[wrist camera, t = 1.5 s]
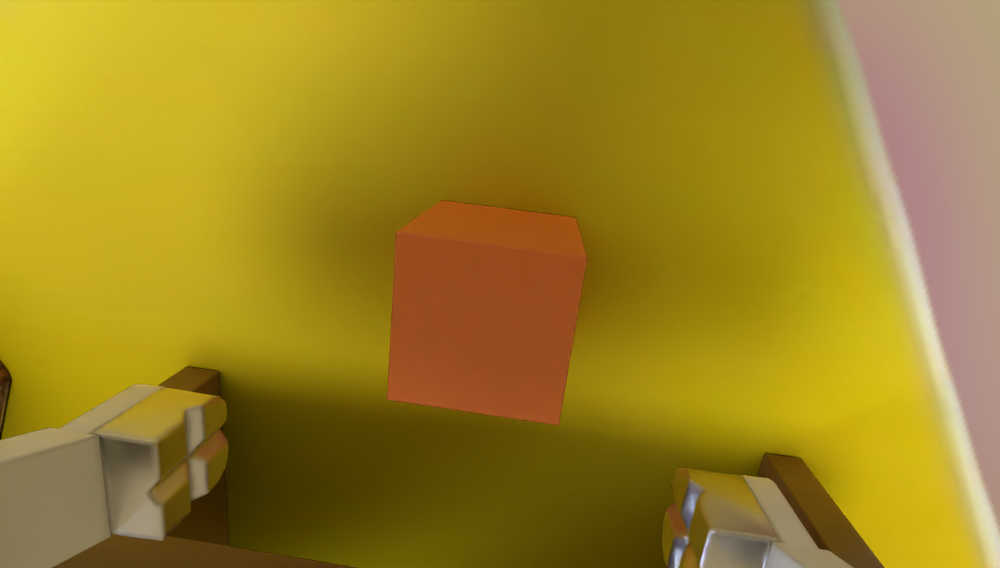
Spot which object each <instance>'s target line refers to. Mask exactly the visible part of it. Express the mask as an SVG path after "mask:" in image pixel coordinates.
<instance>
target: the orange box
mask: <svg viewBox="0 0 1000 568" xmlns="http://www.w3.org/2000/svg"><path fill="white" fill-rule="evenodd" d="M586 262H587V256H586V252H585V249H584V245H583V242H582V238H581V235H580V232H579V228H578V225H577V221H576V218H575V217H569V216H561V215H553V214H545V213H538V212H530V211H522V210H514V209H506V208H499V207H491V206H483V205H475V204H467V203H460V202H452V201H444V200H442V201H440V202H439V203H437V204H436V205H434V206H433V207H432V208H430V209H429V210H427V211H426V212H424V213H423V214H421V215H420V216H419V217H417V218H416V219H414V220H413V221H411V222H410V223H408V224H407V225H405V226H404V227H403V228H401V229H400V230H398V231H397V232H396V243H395V262H394V281H393V299H392V318H391V337H390V355H389V374H388V393H387V399H388V400H392V401H399V402H406V403H412V404H419V405H426V406H433V407H439V408H446V409H453V410H459V411H466V412H473V413H479V414H486V415H493V416H499V417H506V418H513V419H519V420H526V421H533V422H539V423H546V424H553V425H558V424H559V421H560V415H561V409H562V403H563V397H564V392H565V386H566V380H567V374H568V368H569V362H570V356H571V350H572V345H573V339H574V333H575V327H576V321H577V315H578V309H579V303H580V297H581V292H582V286H583V280H584V274H585V268H586Z"/></svg>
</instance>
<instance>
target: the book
mask: <svg viewBox="0 0 1000 568" xmlns="http://www.w3.org/2000/svg"><path fill="white" fill-rule="evenodd" d="M10 381H11V379H10V376H9V374H8V372H7V371H6V369H5V368H4V366H3V365H2V363H1V362H0V436H1V430H2V425H3V419H4V414H5V408H6V402H7V397H8V391H9V386H10Z"/></svg>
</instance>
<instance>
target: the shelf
mask: <svg viewBox="0 0 1000 568" xmlns="http://www.w3.org/2000/svg"><path fill="white" fill-rule="evenodd" d="M158 386H162V387H166V388H173V389H179V390H184V391H190V392H196V393H202V394H207V395H213V396H219V397H220V382H219V372H218V371H213V370H206V369H200V368H193V367H185V368H184V369H182V370H181V371H179V372H177V373H176V374H174V375H173V376H171V377H170V378H168V379H167V380H165V381H164V382H162V383H161V384H159V385H158ZM220 430H221V431H222V426H221V428H220ZM758 477H762V478H769V479H770V480H772V481H773V482H775V484H776V485H777V487H778V488H779V490H780V491H781V493H782V494H783V496H784V497H785V499H786V500H787V502H788V503H789V505H790V506H791V508H792V509H793V511H794V512H795V514H796V515H797V517H798V518H799V520H800V521H801V523H802V524H803V526H804V527H805V529H806V530H807V532H808V533H809V535H810V536H811V538H812V539H813V541H814V542H815V544H816V545H817V547H818V548H819V549H822V550H828V551H830V552H832V553H833V554H835V555H836V556H838V557H839V558H840V559H842V560H843V561H845V562H846V563H848V564H849V565H850V566H852V567H853V568H884V566H883V565H882V564H881V563H880V561H879V560H878V559H877V557H876V556H875V555H874V553H873V552H872V551H871V549H870V548H869V547H868V545H867V544H866V543H865V541H864V540H863V539H862V538H861V536H860V535H859V534H858V532H857V531H856V530H855V528H854V527H853V526H852V524H851V523H850V522H849V520H848V519H847V518H846V517H845V515H844V514H843V513H842V511H841V510H840V509H839V507H838V506H837V505H836V503H835V502H834V501H833V499H832V498H831V497H830V495H829V494H828V493H827V492H826V490H825V489H824V488H823V486H822V485H821V484H820V482H819V481H818V480H817V478H816V477H815V476H814V474H813V473H812V472H811V471H810V469H809V468H808V467H807V465H806V464H805V463H804V461H803V460H802V459H800V458H794V457H788V456H781V455H774V454H768V453H766V454H765V455H764V458H763V461H762V464H761V467H760V470H759V474H758ZM190 506H191V512H190V513H189V514H188V515H187V516H186V517H185V518H184V519H183V520H182V521H181V522H180V523H179V524H178V525H177V526H176V527H175V528H174V530H173V531H172V532H171V533H170V534H169V535H168V536H167V537H166V538H165V539H164V540H163V541H160V540H153V539H145V538H138V537H131V536H123V535H116V534H111V536H110V537H109V538H107V539H105V540H103V541H101V542H100V543H98V544H96V545H94V546H92V547H90V548H88V549H86V550H84V551H83V552H81V553H79V554H77V555H75V556H73V557H71V558H69V559H67V560H66V561H64V562H62V563H60V564H58V565H56V566H54V567H52V568H356V567H350V566H344V565H338V564H332V563H326V562H320V561H314V560H308V559H302V558H296V557H290V556H285V555H279V554H273V553H267V552H261V551H255V550H249V549H243V548H237V547H231V546H229V540H228V523H227V505H226V487H225V470H224V471H223V474H222V476H221V478H220V480H219V482H218V483H217V484H216V485H215V486H214V487H213V488H212V490H211V491H210V492H209V493H208V494H206V495H204V496H201V497H199V498H197V499H195V500H192V501H190Z"/></svg>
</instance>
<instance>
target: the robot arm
mask: <svg viewBox="0 0 1000 568" xmlns="http://www.w3.org/2000/svg"><path fill="white" fill-rule="evenodd" d="M226 420H227V407H226V402H225V401H224V400H223V399H222V398H221V397H219V396H213V395H207V394H202V393H196V392H190V391H184V390H179V389H173V388H166V387H162V386H155V385H147V384H134V385H132V386H130V387H129V388H127V389H125V390H124V391H122V392H120V393H119V394H117V395H115V396H114V397H112V398H110V399H108V400H107V401H105V402H103V403H102V404H100V405H98V406H97V407H95V408H93V409H91V410H90V411H88V412H86V413H85V414H83V415H81V416H80V417H78V418H76V419H75V420H73V421H71V422H69V423H68V424H66V425H64V426H63V427H61V428H59V429H57V428H46V429H42V430H38V431H34V432H30V433H26V434H22V435H19V436H15V437H11V438H7V439H3V440H0V568H52V567H54V566H56V565H58V564H60V563H62V562H64V561H66V560H67V559H69V558H71V557H73V556H75V555H77V554H79V553H81V552H83V551H84V550H86V549H88V548H90V547H92V546H94V545H96V544H98V543H100V542H101V541H103V540H105V539H107V538H109V537H110V536H111V534H116V535H123V536H131V537H138V538H145V539H153V540H160V541H163V540H164V539H165V538H166V537H167V536H168V535H169V534H170V533H171V532H172V531H173V530H174V528H175V527H176V526H177V525H178V524H179V523H180V522H181V521H182V520H183V519H184V518H185V517H186V516H187V515H188V514H189V513H190V512H191V506H190V501H192V500H195V499H197V498H199V497H201V496H204V495H206V494H208V493H209V492H210V491H211V490H212V488H213V487H214V486H215V485H216V484H217V483H218V482H219V480H220V478H221V476H222V474H223V471H224V469H225V467H226V464H227V459H228V454H229V445H228V440H227V438H226V437H225V435H224V434H223V432H222V431H221V430H220V428H221V426H222V425H223V424H224V423H225V422H226ZM671 488H672V491H673V494H674V497H675V500H676V502H674V503H673V504H672V505H671V506H669V507H668V508H667V509H666V512H665V516H664V521H663V526H662V549H663V556H664V560H665V564H666V568H853V567H852V566H850V565H849V564H848V563H846V562H845V561H843V560H842V559H840V558H839V557H838V556H836V555H835V554H833V553H832V552H830V551H828V550H822V549H819V548H818V547H817V545H816V544H815V542H814V541H813V539H812V538H811V536H810V535H809V533H808V532H807V530H806V529H805V527H804V526H803V524H802V523H801V521H800V520H799V518H798V517H797V515H796V514H795V512H794V511H793V509H792V508H791V506H790V505H789V503H788V502H787V500H786V499H785V497H784V496H783V494H782V493H781V491H780V490H779V488H778V487H777V485H776V484H775V482H773V481H772V480H770V479H769V478H762V477H754V476H745V475H734V474H726V473H719V472H711V471H703V470H695V469H688V468H680V467H679V468H678V470H677V472H676V473H675V476H674V479H673V483H672V487H671Z"/></svg>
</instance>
